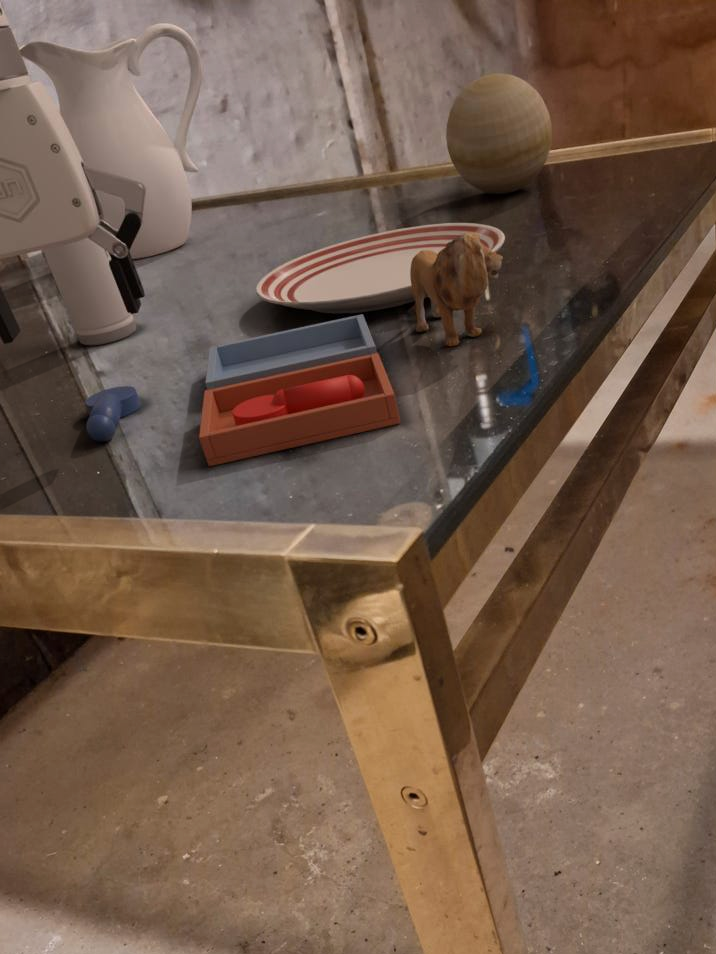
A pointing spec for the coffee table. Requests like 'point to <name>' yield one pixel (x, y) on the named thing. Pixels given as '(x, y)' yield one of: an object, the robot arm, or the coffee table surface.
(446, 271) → the lion figurine
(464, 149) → the decorative ball
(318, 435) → the red tray
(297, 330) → the blue tray
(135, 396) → the blue spoon
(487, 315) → the coffee table surface
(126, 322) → the travel mug
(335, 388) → the red spoon
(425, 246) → the dinner plate
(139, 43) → the pitcher
